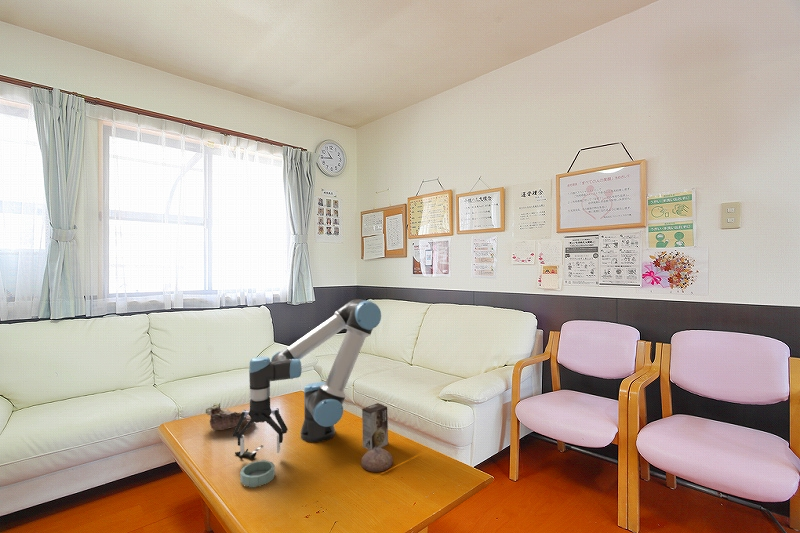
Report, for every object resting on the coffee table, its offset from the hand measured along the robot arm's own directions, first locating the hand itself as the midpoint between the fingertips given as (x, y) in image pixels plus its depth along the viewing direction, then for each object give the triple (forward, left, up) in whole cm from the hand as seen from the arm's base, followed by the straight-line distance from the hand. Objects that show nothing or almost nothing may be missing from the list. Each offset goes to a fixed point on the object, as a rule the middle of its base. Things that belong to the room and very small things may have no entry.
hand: (260, 452), depth 149 cm
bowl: (-2, +13, -3) cm, 14 cm away
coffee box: (-45, -6, -4) cm, 46 cm away
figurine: (+1, 0, -1) cm, 1 cm away
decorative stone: (-46, +14, -5) cm, 48 cm away
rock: (+23, -35, -4) cm, 42 cm away
